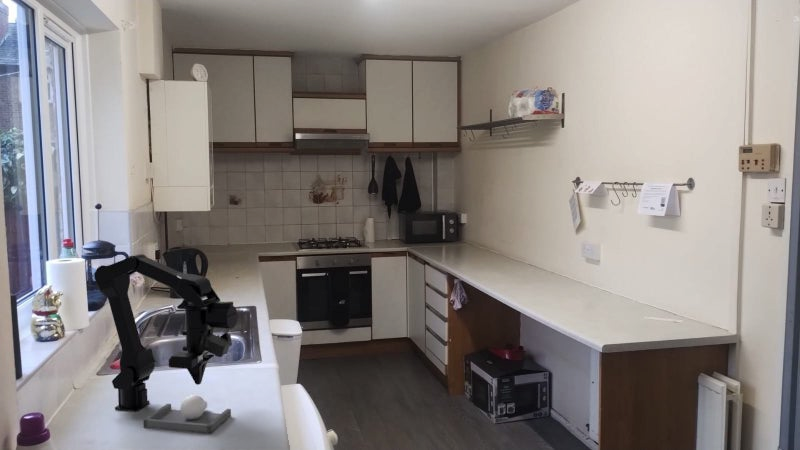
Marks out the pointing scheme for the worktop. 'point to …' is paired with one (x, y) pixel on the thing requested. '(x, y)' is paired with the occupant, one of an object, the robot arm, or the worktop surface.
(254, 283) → the worktop surface
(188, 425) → the tray
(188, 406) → the lightbulb
